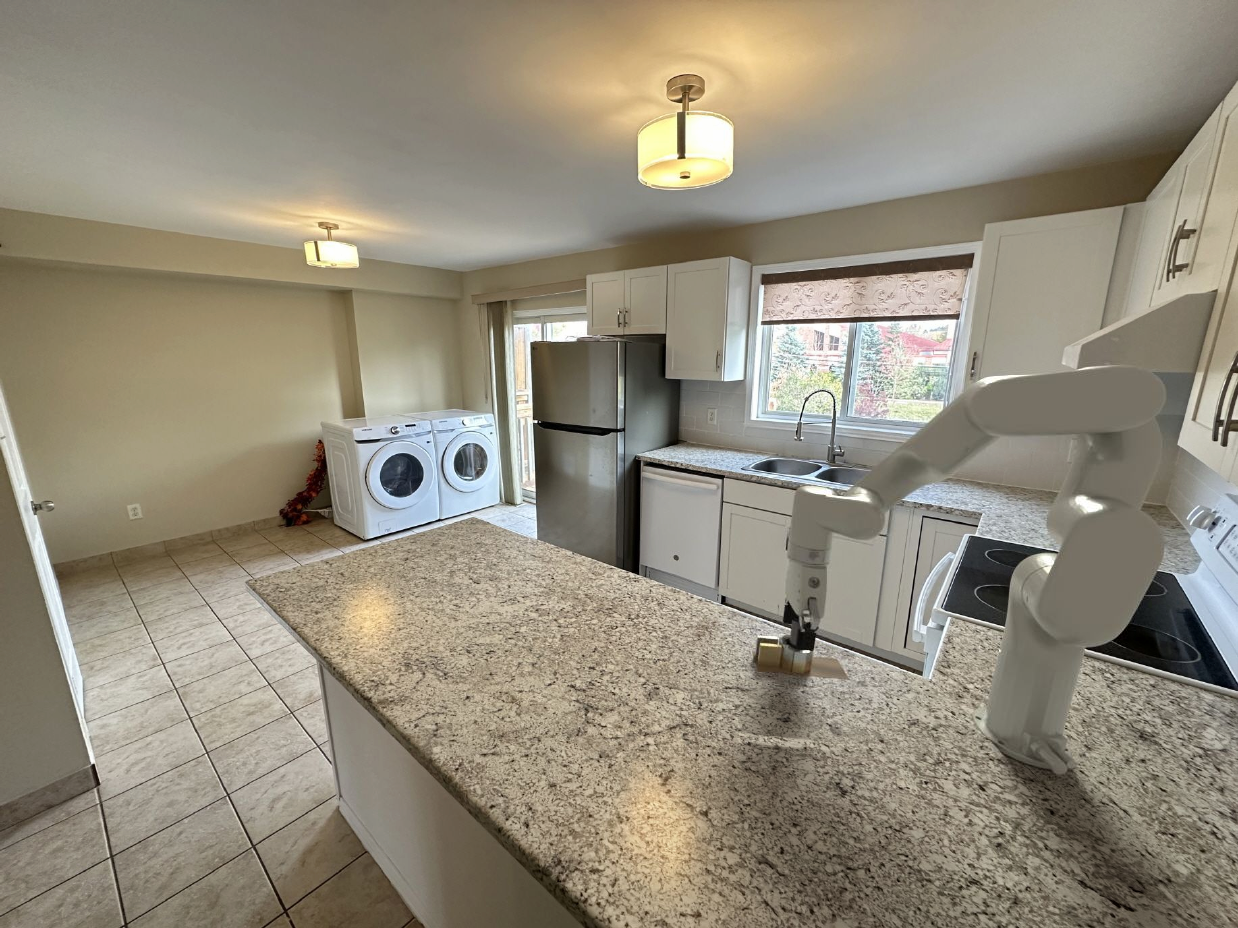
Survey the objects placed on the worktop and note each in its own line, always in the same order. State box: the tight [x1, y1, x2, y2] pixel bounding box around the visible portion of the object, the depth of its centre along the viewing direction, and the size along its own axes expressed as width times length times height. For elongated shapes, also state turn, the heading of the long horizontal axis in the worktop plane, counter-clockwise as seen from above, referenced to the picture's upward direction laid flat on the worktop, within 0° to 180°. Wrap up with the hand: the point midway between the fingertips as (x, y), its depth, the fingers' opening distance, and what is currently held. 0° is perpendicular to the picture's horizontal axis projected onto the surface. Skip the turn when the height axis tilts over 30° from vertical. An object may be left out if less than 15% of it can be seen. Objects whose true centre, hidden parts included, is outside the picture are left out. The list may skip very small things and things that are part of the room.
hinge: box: [754, 634, 814, 674], centre depth 94 cm, size 6×10×4 cm, turn 85°
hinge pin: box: [789, 619, 808, 649], centre depth 93 cm, size 3×3×9 cm
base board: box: [751, 650, 850, 680], centre depth 94 cm, size 7×17×1 cm, turn 85°
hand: (797, 635), depth 93 cm, fingers open, 8 cm apart
